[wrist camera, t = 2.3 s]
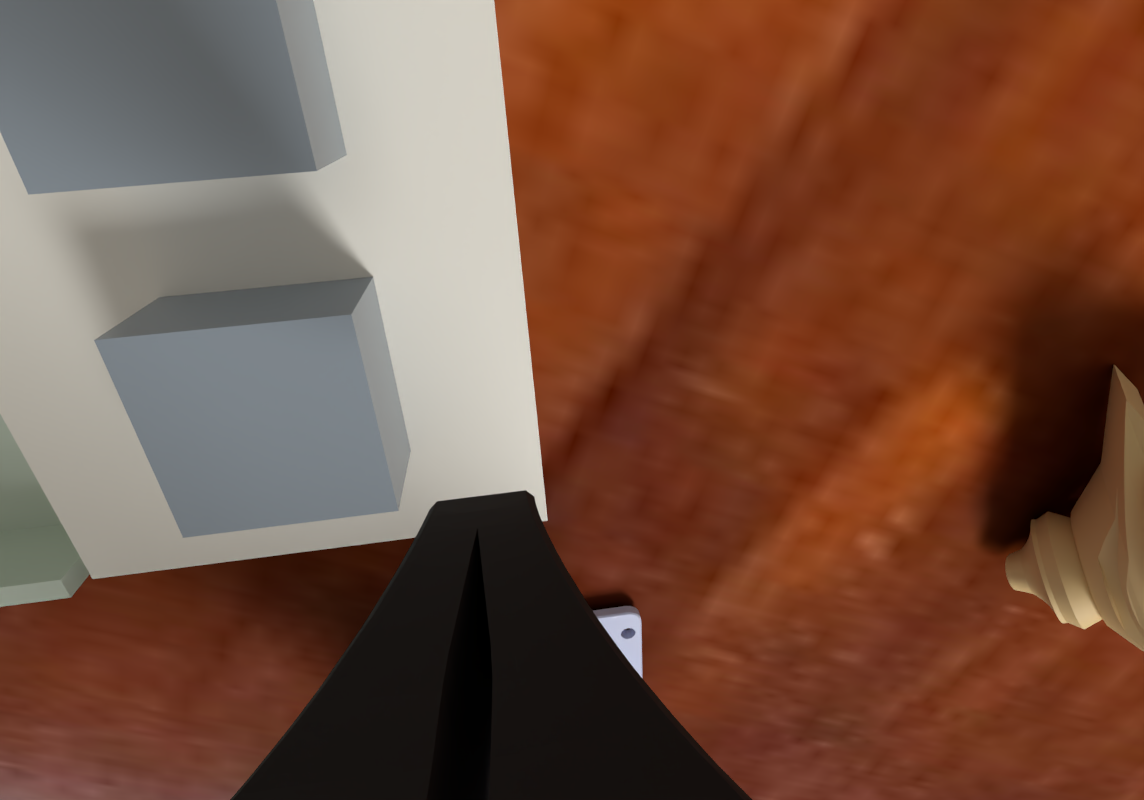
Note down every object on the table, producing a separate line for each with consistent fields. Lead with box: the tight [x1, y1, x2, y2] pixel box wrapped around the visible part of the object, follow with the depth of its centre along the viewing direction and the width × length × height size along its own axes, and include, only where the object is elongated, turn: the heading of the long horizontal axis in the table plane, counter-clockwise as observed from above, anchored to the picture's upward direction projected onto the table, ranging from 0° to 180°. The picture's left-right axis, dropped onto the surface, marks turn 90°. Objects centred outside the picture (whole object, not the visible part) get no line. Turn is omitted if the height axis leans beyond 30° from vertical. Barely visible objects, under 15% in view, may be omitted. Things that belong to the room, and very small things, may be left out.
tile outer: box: [0, 0, 347, 195], centre depth 10 cm, size 4×4×2 cm
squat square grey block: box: [94, 277, 411, 538], centre depth 13 cm, size 4×4×2 cm
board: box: [0, 0, 548, 579], centre depth 14 cm, size 16×12×2 cm
